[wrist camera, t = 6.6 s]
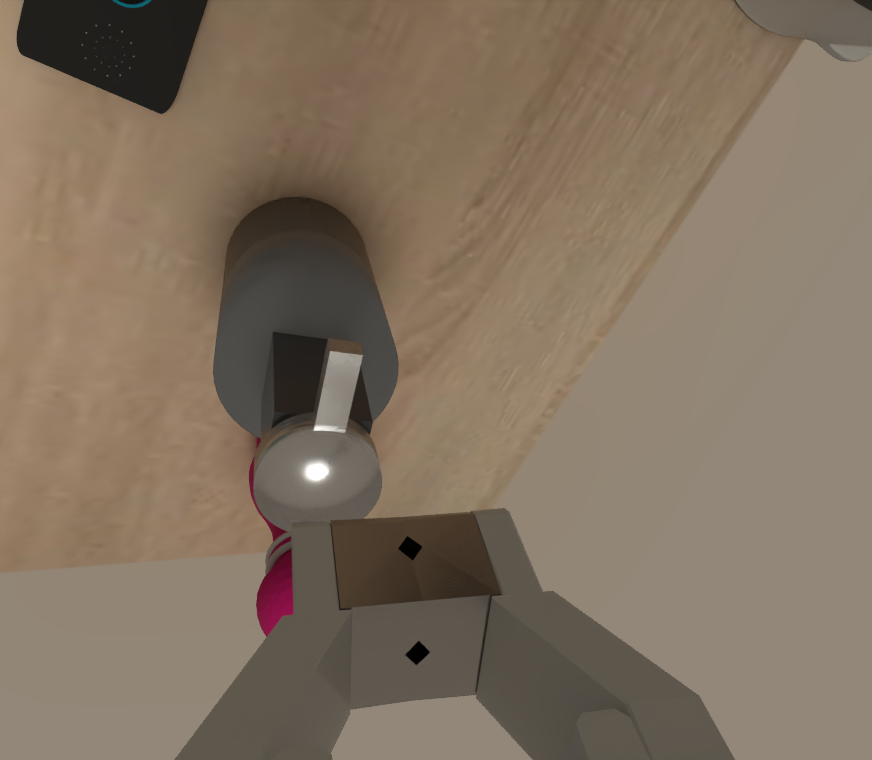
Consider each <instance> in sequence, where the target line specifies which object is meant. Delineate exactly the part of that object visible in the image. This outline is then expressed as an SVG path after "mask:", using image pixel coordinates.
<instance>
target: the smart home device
mask: <svg viewBox="0 0 872 760" xmlns="http://www.w3.org/2000/svg"><path fill="white" fill-rule="evenodd" d="M206 3H207V0H24V3H23V8H22V12H21V16H20V21H19V25H18V30H17V46H18V49H19V52H20V53H21V54H22V55H23V56H26V57H28V58H31V59H33V60H35V61H38V62H40V63H42V64H45V65H47V66H49V67H52V68H54V69H56V70H59V71H61V72H63V73H66V74H68V75H70V76H73V77H75V78H78V79H80V80H82V81H85V82H87V83H89V84H92V85H94V86H96V87H99V88H101V89H103V90H106V91H108V92H110V93H113V94H115V95H117V96H120V97H122V98H124V99H127V100H129V101H132V102H134V103H136V104H139V105H141V106H143V107H146V108H148V109H150V110H153V111H155V112H157V113H160V114H163V113H165V112H166V111H167V110H168V109H169V108H170V107H171V105H172V103H173V101H174V99H175V97H176V95H177V92H178V89H179V86H180V83H181V80H182V77H183V74H184V71H185V68H186V65H187V62H188V59H189V56H190V52H191V49H192V46H193V43H194V40H195V37H196V34H197V31H198V28H199V25H200V22H201V19H202V16H203V12H204V9H205V6H206Z"/></svg>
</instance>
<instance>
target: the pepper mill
mask: <svg viewBox="0 0 872 760" xmlns="http://www.w3.org/2000/svg"><path fill="white" fill-rule="evenodd" d="M260 442H261V438H259V437H258V438H257V448H258V446H259V444H260ZM254 458H255V457H254ZM254 458H253V461H252V463H251V467H250V471H249V484H250V491H251V496H252V499H253V501H254V504H255V506H256V508H257V510H258V512H259V513H260V515H261V516H262V517H263V519H264V520H265V521H266V523H267V524H268V526H269V528H270V530H271V532H272V535H273V543H272V544H271V546H270V547H269V549H268V551H267V554H266V571H265V572H266V576H265V577H264V579H263V581H262V583H261V585H260V588H259V591H258V593H257V603H256V606H257V616H258V619H259V623H260V626H261V628H262V630H263V632H264V634H265V635H266V637H267V636H268V635H269V633H270V632H271V631H272V629H273V628H274V627H275V626H276V624H277V623H278V622H279V620H280V619H281V618H282V616H286V615H293V581H292V547H291V533H290V532H287V531H285V530H283V529H280V528H278V527H277V526H275V525H274V524H272V523H271V522H270V521H269V520H267V519H266V518H265V517H264V515H263V514H262V513H261V511H260V510H259V508H258V506H257V504H256V501H255V498H254V490H253V487H254Z"/></svg>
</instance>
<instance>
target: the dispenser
mask: <svg viewBox="0 0 872 760" xmlns="http://www.w3.org/2000/svg"><path fill="white" fill-rule="evenodd" d="M328 338H330V339H338V340H345V341H353V342H360V345H361V349H362V353H363V357H362V361H361V366H360V370H359V375H358V379H357V383H356V388H355V392H354V396H353V401H352V405H351V409H350V414H349V418H350V419H351V420H353V421H355V422H357V423H358V424H359V425H361V426H362V427H363V428H364V429H365V430H366V431H367V432H368V434H369V435H370V432H371V428H372V424H373V421H374V420H375V419H376V418H377V417H378V416H379V415H380V414H381V412H382V411H383V410H384V408H385V407H386V405H387V404H388V402H389V400H390V398H391V396H392V394H393V392H394V389H395V386H396V382H397V377H398V356H397V351H396V347H395V344H394V340H393V337H392V334H391V331H390V327H389V324H388V321H387V318H386V314H385V311H384V308H383V305H382V301H381V298H380V295H379V292H378V288H377V285H376V282H375V279H374V275H373V272H372V269H371V266H370V262H369V259H368V256H367V252H366V249H365V246H364V243H363V241H362V238H361V236H360V234H359V232H358V231H357V229H356V227H355V226H354V225H353V224H352V223H351V221H350V220H349V219H348V218H347V217H346V216H345V215H344V214H342V213H341V212H339V211H338V210H337V209H335V208H333V207H331V206H330V205H328V204H325V203H323V202H320V201H317V200H313V199H309V198H300V197H290V198H283V199H278V200H274V201H271V202H268V203H266V204H264V205H262V206H260V207H258V208H256V209H255V210H253V211H252V212H251V213H249V214H248V215H247V216H246V217H245V218H244V219H243V220H242V221H241V222H240V224H239V225H238V226H237V228H236V229H235V231H234V233H233V235H232V236H231V239H230V242H229V245H228V249H227V254H226V262H225V271H224V279H223V288H222V296H221V304H220V313H219V321H218V329H217V338H216V346H215V355H214V365H213V375H214V384H215V387H216V391H217V394H218V396H219V399H220V401H221V403H222V405H223V406H224V408H225V409H226V411H227V412H228V413H229V415H230V416H231V417H232V418H233V419H234V420H235V421H236V422H237V423H238V424H239V425H240V426H241V427H242V428H244V429H245V430H247V431H248V432H250V433H251V434H253V435H255V436H257V437H259V438H261V441H262V439H263V438H264V436H265V435H266V434H267V433H268V432H269V431H270V430H271V429H272V428H273V427H275V426H276V425H278V424H279V423H281V422H282V421H284V420H286V419H288V418H291V417H293V416H296V415H300V414H304V413H310V412H313V411H314V406H315V401H316V396H317V391H318V386H319V381H320V376H321V371H322V366H323V361H324V356H325V351H326V347H327V342H328Z"/></svg>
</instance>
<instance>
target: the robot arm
mask: <svg viewBox="0 0 872 760" xmlns="http://www.w3.org/2000/svg"><path fill="white" fill-rule="evenodd" d="M736 2H737V3H738V5H739V6H740V7H741V9H742V10H743V11H744V12H745V13H746V14H747V16H748V17H750V18H751V19H752V20H753V21H754V22H755V23H757V24H758V25H760V26H761V27H763V28H765V29H766V30H769V31H771V32H773V33H776V34H779V35H782V36H787V37H794V38H801V39H807V40H811V41H814V42H816V43H817V44H818V45H819V46H820V47H822V48H823V49H824V50H825V51H826V52H828V53H829V54H830V55H832V56H833V57H834V58H836V59H838V60H841V61H851V62H856V61H860V60H862V59H864V58H866V57H867V56H869V55H870V54H871V53H872V0H736ZM291 547H292V581H293V615H286V616H282V618H281V619H280V620H279V622H278V623H277V624H276V626H275V627H274V628H273V629H272V631H271V632H270V633H269V635H268V636H267V637H266V639H265V640H264V642H263V643H262V644H261V646H260V647H259V648H258V650H257V651H256V652H255V654H254V655H253V656H252V658H251V659H250V660H249V661H248V663H247V664H246V665H245V667H244V668H243V669H242V671H241V672H240V673H239V675H238V676H237V677H236V679H235V680H234V681H233V683H232V684H231V685H230V687H229V688H228V689H227V691H226V692H225V693H224V695H223V696H222V697H221V699H220V700H219V701H218V703H217V704H216V705H215V707H214V708H213V709H212V711H211V712H210V713H209V715H208V716H207V717H206V719H205V720H204V721H203V723H202V724H201V725H200V727H199V728H198V729H197V730H196V732H195V733H194V734H193V736H192V737H191V738H190V740H189V741H188V742H187V744H186V745H185V746H184V748H183V749H182V751H181V752H180V753H179V754H178V756H177V757H176V758H175V760H332V755H331V752H332V749H333V748H334V745H335V743H336V741H337V739H338V737H339V735H340V733H341V731H342V729H343V727H344V725H345V723H346V721H347V719H348V717H349V715H350V710H351V709H357V708H364V707H371V706H378V705H385V704H392V703H399V702H405V701H412V700H423V699H434V698H445V697H457V696H468V695H476V698H477V700H478V701H479V702H480V703H481V704H482V705H483V706H484V707H485V708H486V709H487V710H488V711H489V713H490V714H491V715H492V716H493V717H494V718H495V719H496V720H497V721H498V722H499V723H500V725H501V726H502V727H503V728H504V729H505V730H506V731H507V732H508V733H509V734H510V735H511V737H512V738H513V739H514V740H515V741H516V742H517V743H518V744H519V745H520V746H521V747H522V749H523V750H524V751H525V752H526V753H527V754H528V755H529V756H530V757H531V758H532V759H533V760H735V759H734V757H733V755H732V754H731V752H730V750H729V748H728V746H727V745H726V743H725V741H724V740H723V738H722V736H721V734H720V732H719V730H718V729H717V727H716V725H715V723H714V721H713V720H712V718H711V716H710V714H709V712H708V711H707V709H706V707H705V705H704V703H703V702H702V700H701V698H700V696H699V695H697V694H696V693H695V692H693V691H692V690H690V689H689V688H688V687H686V686H685V685H684V684H682V683H681V682H679V681H678V680H677V679H675V678H674V677H672V676H671V675H670V674H668V673H667V672H665V671H664V670H663V669H661V668H660V667H658V666H657V665H656V664H654V663H653V662H651V661H650V660H649V659H647V658H646V657H644V656H643V655H642V654H640V653H639V652H638V651H636V650H635V649H633V648H632V647H631V646H629V645H628V644H626V643H625V642H624V641H622V640H621V639H619V638H618V637H617V636H615V635H614V634H612V633H611V632H610V631H608V630H607V629H605V628H604V627H603V626H601V625H600V624H598V623H597V622H596V621H594V620H593V619H592V618H590V617H589V616H587V615H586V614H584V613H583V612H582V611H580V610H579V609H578V608H576V607H575V606H573V605H572V604H571V603H569V602H568V601H566V600H565V599H564V598H562V597H561V596H559V595H558V594H557V593H555V592H554V591H546V592H543V591H542V588H541V586H540V584H539V581H538V579H537V577H536V574H535V572H534V570H533V567H532V565H531V562H530V560H529V558H528V555H527V553H526V550H525V548H524V546H523V543H522V541H521V538H520V536H519V534H518V531H517V529H516V526H515V524H514V522H513V519H512V517H511V515H510V513H509V511H507V510H506V509H505V508H501V509H489V510H478V511H471V512H461V513H448V514H435V515H422V516H408V517H391V518H369V519H347V520H330V523H329V522H328V521H318V522H297V523H292V527H291Z"/></svg>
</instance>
